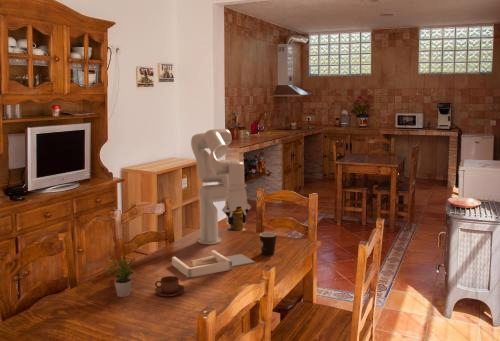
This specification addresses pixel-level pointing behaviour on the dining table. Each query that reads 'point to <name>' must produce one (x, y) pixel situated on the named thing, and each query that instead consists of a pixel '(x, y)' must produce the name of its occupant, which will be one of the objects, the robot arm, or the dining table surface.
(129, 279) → the house plant
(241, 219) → the condiment
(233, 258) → the mat
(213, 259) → the offcuts
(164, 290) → the cup and saucer
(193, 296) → the dining table surface
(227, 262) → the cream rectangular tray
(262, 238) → the coffee mug
